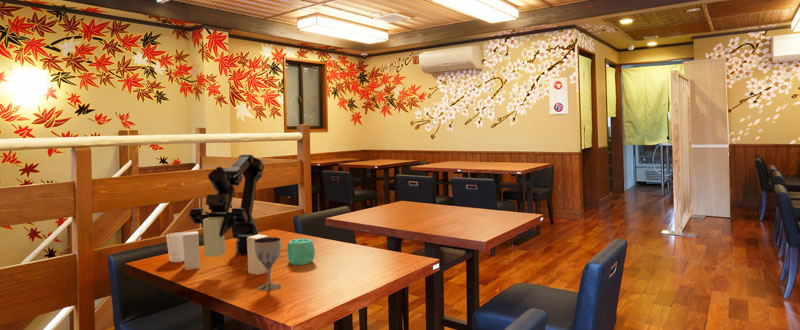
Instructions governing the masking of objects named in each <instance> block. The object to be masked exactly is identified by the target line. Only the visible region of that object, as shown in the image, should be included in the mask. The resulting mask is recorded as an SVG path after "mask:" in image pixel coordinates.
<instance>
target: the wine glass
mask: <svg viewBox="0 0 800 330" xmlns="http://www.w3.org/2000/svg"><path fill="white" fill-rule="evenodd" d="M281 239H282V238H281V237H277V236H268V237H264V238H259V239H256V240H254V247H255V253H256V256H257V259H258V260H259V261H260V262H261V263H262V264H263V265H264V266H265V268H266V270H267V272H266V275H267V283H263V284H261V285H259V286H257V290H258V291H263V292H269V291H275V290H278V289H280V288H282V285H281V284H279V283H273V282H272V281H271V271H272V268H273V266H274V264H275V263H276V261H277V260H278V259H279V257H280V255H281V254H280V253H281V250H282V249H281V248H282V247H281V246H282V240H281Z"/></svg>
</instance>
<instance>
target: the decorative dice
mask: <svg viewBox="0 0 800 330" xmlns="http://www.w3.org/2000/svg"><path fill="white" fill-rule="evenodd" d="M286 247H287V249H286V253H287V259H288V262H289V264H291V265H292V266H304V264H305V265H308V263H309V264H310V263H312V262H313V261H314V259H315V247H314V243H313V240H311V239H309V238H297V239H296V238H295V239H291V240H290V241H289V242H288V243H287V246H286Z"/></svg>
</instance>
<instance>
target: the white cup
mask: <svg viewBox="0 0 800 330" xmlns="http://www.w3.org/2000/svg"><path fill="white" fill-rule="evenodd" d="M183 232H184V231H181V232H180V231H178V232H171V233H169V234H168V233H167V234H166V237H165V238H166V244H167V253H168V260H169V262H170V263H181V262H184V243H183Z"/></svg>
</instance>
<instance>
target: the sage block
mask: <svg viewBox="0 0 800 330" xmlns="http://www.w3.org/2000/svg"><path fill="white" fill-rule="evenodd" d="M223 222H224V217H208V218H206V219H204V220H203V225H202V231H203V232H204V234H203V246H204V247H203V248H204V252H203V253H204V258H205V257H210V258H211V257H212V258H213V257H216V258H217V257H221V256H223V255H224V254H225V253H226V242H225V234H224V235H223V236H222V237H220V236H219V235H220V230H221V228H222V225H223ZM203 232H202V233H203Z"/></svg>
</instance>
